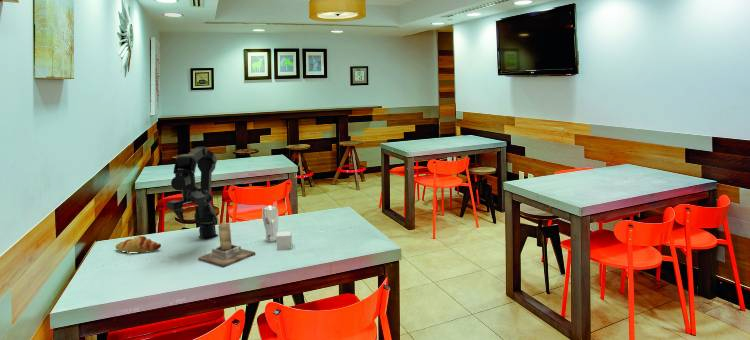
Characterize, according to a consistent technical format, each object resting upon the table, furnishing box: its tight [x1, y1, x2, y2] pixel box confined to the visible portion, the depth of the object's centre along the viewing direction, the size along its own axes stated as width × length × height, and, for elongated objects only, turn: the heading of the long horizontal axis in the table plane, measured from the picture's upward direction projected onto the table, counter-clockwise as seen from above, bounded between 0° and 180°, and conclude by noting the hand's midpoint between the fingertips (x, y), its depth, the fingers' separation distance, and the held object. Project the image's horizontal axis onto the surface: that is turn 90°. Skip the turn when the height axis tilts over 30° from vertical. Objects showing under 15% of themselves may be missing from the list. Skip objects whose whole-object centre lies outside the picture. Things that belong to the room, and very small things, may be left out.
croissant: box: [115, 235, 162, 254], centre depth 204 cm, size 21×10×8 cm
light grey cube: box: [276, 230, 293, 251], centre depth 202 cm, size 6×6×6 cm
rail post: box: [217, 222, 233, 252], centre depth 191 cm, size 4×4×13 cm
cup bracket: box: [197, 244, 256, 268], centre depth 192 cm, size 16×16×4 cm
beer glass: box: [261, 205, 279, 243], centre depth 211 cm, size 7×7×15 cm
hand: (192, 220), depth 201 cm, fingers open, 9 cm apart
